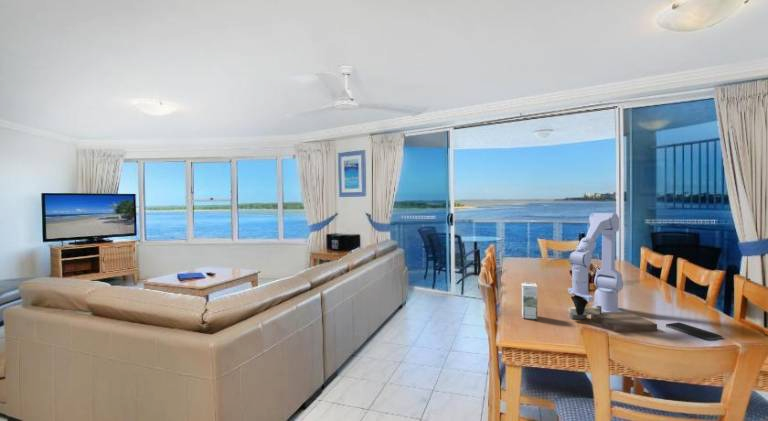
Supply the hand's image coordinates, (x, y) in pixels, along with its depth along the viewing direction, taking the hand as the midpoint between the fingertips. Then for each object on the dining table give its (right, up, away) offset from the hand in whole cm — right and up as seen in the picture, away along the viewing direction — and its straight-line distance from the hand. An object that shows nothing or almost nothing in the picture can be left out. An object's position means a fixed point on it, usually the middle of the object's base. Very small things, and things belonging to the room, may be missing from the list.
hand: (580, 314), depth 145 cm
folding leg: (+3, 0, +2) cm, 4 cm away
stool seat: (+15, -3, -3) cm, 16 cm away
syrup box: (-18, -4, +7) cm, 19 cm away
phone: (+35, -4, -12) cm, 37 cm away
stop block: (+2, -3, +5) cm, 6 cm away
